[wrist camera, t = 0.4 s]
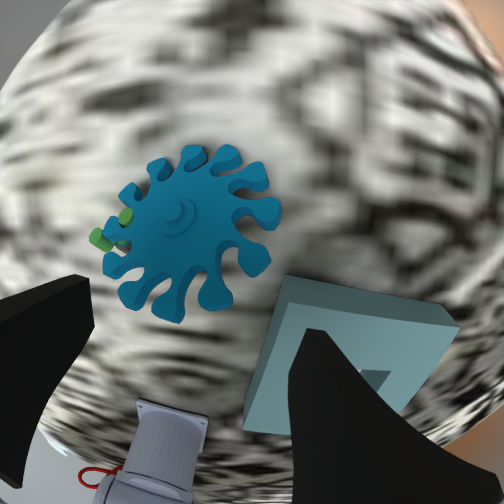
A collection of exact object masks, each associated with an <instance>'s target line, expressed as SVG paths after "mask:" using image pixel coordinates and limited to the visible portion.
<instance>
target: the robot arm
mask: <svg viewBox="0 0 504 504" xmlns="http://www.w3.org/2000/svg"><path fill="white" fill-rule="evenodd" d="M94 327H95V325H94V318H93V310H92V302H91V293H90V282H89V278H87V277H83V276H80V275H77V274H74V275H69V276H66V277H63V278H59V279H56V280H54V281H51V282H48V283H45V284H43V285H40V286H37V287H35V288H32V289H29V290H27V291H24V292H21V293H18V294H15V295H12V296H10V297H7V298H4V299H1V300H0V479H2V480H3V481H4V482H6V483H7V484H8V485H10V486H11V487H13V488H15V489H19V488H22V482H23V475H24V470H25V464H26V459H27V455H28V451H29V448H30V444H31V441H32V438H33V435H34V432H35V430H36V427H37V424H38V422H39V419H40V417H41V415H42V413H43V411H44V408H45V406H46V404H47V402H48V400H49V398H50V397H51V395H52V393H53V392H54V390H55V389H56V387H57V386H58V384H59V383H60V381H61V380H62V378H63V377H64V375H65V374H66V372H67V371H68V370H69V368H70V367H71V365H72V364H73V362H74V361H75V360H76V358H77V357H78V355H79V354H80V352H81V351H82V349H83V348H84V346H85V344H86V342H87V341H88V339H89V337H90V335H91V333H92V331H93V329H94ZM136 405H137V411H138V417H139V422H140V423H139V426H138V428H137V431H136V433H135V436H134V439H133V441H132V444H131V447H130V450H129V452H128V455H127V458H126V460H125V463H124V466H123V469H122V471H121V470H118V473H117V475H116V476H115V475H113V474H110V475H109V476H105V477H104V478H103V479H102V480H101V482H100V484H99V486H98V488H97V490H96V493H95V496H94V500H93V504H199V503H198V501H194V500H192V498H193V493H191V488H192V483H193V477H194V472H195V467H196V462H197V457H198V453H201V452H202V450H203V445H204V440H205V435H206V430H207V425H208V418H207V417H204V416H200V415H195V414H191V413H187V412H183V411H179V410H175V409H171V408H168V407H164V406H161V405H157V404H154V403H151V402H147V401H144V400H141V399H138V400H137V401H136ZM288 410H289V420H290V430H291V440H292V450H293V465H294V473H293V495H292V504H499V503H501V502H502V501H503V499H504V493H503V491H502V488H501V485H500V483H499V480H498V478H497V476H496V474H495V473H492V472H489V471H487V470H484V469H482V468H479V467H477V466H475V465H472V464H470V463H467V462H466V461H464V460H462V459H460V458H458V457H456V456H455V455H453V454H451V453H449V452H447V451H445V450H444V449H443V448H441V447H440V446H438V445H436V444H435V443H434V442H432V441H431V440H429V439H428V438H427V437H425V436H424V435H423V434H421V433H420V432H418V431H417V430H416V429H415V428H413V427H412V426H411V425H410V424H409V423H407V422H406V421H405V420H404V419H403V418H402V417H401V416H400V415H399V414H397V413H396V412H395V411H394V410H393V409H392V408H391V407H390V406H389V405H388V404H387V403H386V402H385V401H384V400H383V399H382V398H381V397H380V396H379V395H378V394H377V392H376V391H375V390H374V389H373V388H372V387H371V386H370V385H369V384H368V383H367V381H366V380H365V379H364V378H363V377H362V376H361V374H360V373H359V372H358V371H357V370H356V368H355V367H354V366H353V365H352V363H351V362H350V361H349V360H348V358H347V357H346V356H345V355H344V353H343V352H342V351H341V350H340V348H339V347H338V346H337V344H336V343H335V342H334V341H333V339H332V338H331V337H330V336H329V335H328V333H327V332H326V331H325V330H318V329H311V328H306V331H305V333H304V336H303V338H302V341H301V343H300V346H299V348H298V351H297V353H296V356H295V358H294V360H293V363H292V365H291V368H290V370H289V372H288ZM0 504H7V503H6V502H4V501H3V500H2V499H1V498H0Z"/></svg>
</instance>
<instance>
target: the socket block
mask: <svg viewBox="0 0 504 504" xmlns="http://www.w3.org/2000/svg"><path fill="white" fill-rule="evenodd" d="M306 328H311V329H318V330H325V331H326V332H327V333H328V335H329V336H330V337H331V338H332V339H333V341H334V342H335V343H336V344H337V346H338V347H339V348H340V350H341V351H342V352H343V353H344V355H345V356H346V357H347V358H348V360H349V361H350V362H351V363H352V365H353V366H354V367H355V368H356V369H363V370H362V371H361V373H360V374H361V376H362V377H363V378H364V379H365V380H366V381H367V383H368V384H369V385H370V386H371V387H372V388H373V389H374V390H375V391H376V392H377V394H378V395H379V396H380V397H381V398H382V399H383V400H384V401H385V402H386V403H387V404H388V405H389V406H390V407H391V408H392V409H393V410H394V411H395V412H396V413H397V414H399V413H400V411H401V410H402V409H403V408H404V407H405V406H406V404H407V403H408V402H409V401H410V400H411V398H412V397H413V396H414V395H415V393H416V392H417V391H418V390H419V388H420V387H421V386H422V384H423V383H424V382H425V380H426V379H427V378H428V376H429V375H430V374H431V372H432V371H433V369H434V368H435V367H436V365H437V364H438V362H439V361H440V359H441V358H442V356H443V355H444V353H445V352H446V350H447V349H448V347H449V345H450V344H451V342H452V341H453V339H454V337H455V336H456V334H457V332H458V331H459V329H460V327H459V326H458V324H457V323H456V322H455V321H454V320H453V318H452V317H451V316H450V315H449V314H448V313H447V311H446V310H445V309H444V308H443V307H442V306H441V305H440V304H436V303H430V302H425V301H419V300H414V299H408V298H403V297H398V296H392V295H387V294H382V293H377V292H371V291H366V290H361V289H356V288H351V287H346V286H341V285H336V284H330V283H325V282H320V281H316V280H311V279H306V278H301V277H296V276H291V275H286V274H285V276H284V279H283V283H282V286H281V289H280V293H279V296H278V299H277V303H276V306H275V309H274V312H273V316H272V319H271V322H270V325H269V328H268V332H267V335H266V338H265V341H264V344H263V347H262V350H261V353H260V356H259V359H258V362H257V365H256V368H255V371H254V374H253V377H252V380H251V383H250V386H249V389H248V392H247V395H246V398H245V401H244V412H243V424H242V430H248V431H255V432H264V433H273V434H284V435H291V430H290V420H289V410H288V372H289V370H290V368H291V365H292V363H293V360H294V358H295V356H296V353H297V351H298V348H299V346H300V343H301V341H302V338H303V336H304V333H305V331H306Z"/></svg>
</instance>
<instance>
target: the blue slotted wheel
mask: <svg viewBox="0 0 504 504" xmlns="http://www.w3.org/2000/svg"><path fill="white" fill-rule="evenodd" d="M206 158H207V155H206V153H205V151H204V149H203V148H202V146H199V145H187V146H185V147H184V148H183V150H182V152H181V160H180V163H179V165H178V167H177V168H176V170H175V171H174V173H173V174H172V175H171V176H170V177H169V178H168V179H167V180H165V179H166V178H167V177H168V176H169V174H170V172H171V166H170V165H169V164H168V162H167V161H166V159H165V158H160V159H157V160H155V161H152V162H151V163H149V164H148V165H147V172H148V173H149V175H150V178H151V184H150V188H149V192H148V194H147V196H146V197H145V198H144V199H143V200H142V197H143V193H142V191H141V190H140V189H139V188H138V187H137V185H136V184H135V183H133V182H131V183H130V184H128V185H127V186H126V187H125V188H124V189H123V190H122V191H121V192H120V193H119V195H118V197H119V199H120V200H121V201H122V202H123V203H124V204H125V205H126V206H127V207H129V208H126V209H124V210H123V211H122V212H121V213H120V215H119V218H117V217H116V216H111V217H110V218H109V219H108V221H107V222H106V224H105V227H104V229H103V230H102V229H100V228H95V229H94V230H93V231H92V232H91V234H90V236H89V241H90V243H91V244H93V245H94V246H96V247H97V248H99V249H101V250H102V251H104V252H108V253H106V254H105V255H104V258H103V274H104V275H106V276H108V277H110V278H112V279H119V278H121V277H122V276H123V275H124V274H125V273H126V272H128V271H129V270H131V269H134V268H137V267H144V274H143V276H142V277H141V278H140V279H139V280H138V281H127V282H124V283H122V284H121V285H120V287H119V288H118V290H117V291H118V295H119V298H120V300H121V301H122V303H123V304H124V305H125V307H126V308H129V309H131V310H134V311H138V310H140V309H141V308H142V307H143V306H144V304H145V302H146V299H147V297H148V295H149V294H150V292H151V291H152V290H153V289H154V288H155V287H156V286H157V285H158V284H159V283H161V282H163V281H164V280H166V279H168V278H171V279H172V284H171V287H170V289H169V290H168V291H167V292H165V293H164V294H162V295H160V296H159V297H157V298H156V299H155V300H154V302H153V304H152V309H151V312H152V313H153V314H154V315H155V316H157V317H159V318H162V319H164V320H167V321H170V322H173V323H178V324H180V323H181V322H182V320H183V318H184V315H185V307H184V301H185V295H186V292H187V289H188V287H189V285H190V283H191V281H192V280H193V278H194V277H195V275H196V274H197V273H199V272H200V271H207V279H206V281H205V283H204V284H203V286H202V287H201V289H200V291H199V293H198V302H199V305H200V306H201V307H202V308H204V309H206V310H207V311H219V310H223V309H226V308H229V307H231V306H232V304H233V295H232V293H231V292H230V290H229V289H228V288H227V287H226V285H225V283H224V281H223V279H222V275H221V258H222V254H223V252H224V251H225V250H226V249H228V248H230V247H237V248H238V262H239V265H240V267H241V268H242V269H243V271H244V272H245V273H246V274H247V275H248V276H249V277H252V278H254V277H256V276H258V275H259V274H260V273H262V272H263V271H264V270H265V269H266V268H267V267H268V265H269V264H270V263H271V262H272V260H271V257H270V255H269V253H268V250H267V249H266V247H264V246H263V245H261V244H259V243H255V242H252V241H249V240H247V239H246V238H244V237H243V236H242V235H241V234H240V233H239V232H238V231H237V230H236V223H237V221H238V220H239V219H240V218H241V217H243V216H252V217H254V218H255V219H256V221H257V222H258V224H259V226H260V227H261V228H263V229H264V230H268V231H273V230H276V228H277V227H278V225H279V222H280V219H281V214H282V208H281V204H280V201H279V200H278V199H276V198H273V197H267V198H263V199H258V200H246V199H242V198H238V197H236V196H233V193H234V192H235V191H236V190H238V189H240V188H247V189H250V190H252V191H256V192H260V191H264V190H266V189H268V188H269V180H268V177H267V173H266V170H265V167H264V165H263V163H262V162H254V163H251V164H249V165H248V166H247V167H246V168H244V169H242V170H241V171H239V172H237V173H234V174H231V175H226V176H219V177H216V175H217V174H218V173H220V172H222V171H228V170H234V169H236V168H238V167H239V166H240V165H241V164H242V159H241V157H240V154H239V152H238V150H237V149H236V148H234V147H233V146H231V145H228V144H225V145H223V146H221V147H220V148H219V149H218V150H217V152H216V154H215V155H214V157H213V158H212V159H211V160H210V161H209V162H208V163H206V164H205V165H204V166H202V167H201V168H199V169H197V170H195V171H193V172H191V171H192V170H193V169H195V168H197V167H198V166H200V165H202V164H203V163H204V162H205V160H206ZM131 208H132V209H131ZM114 244H115V246H116V248H118V249H119V250H120V251H122V252H123V253H125V254H127V255H126V256H124V257H121V256H119V255H118V254H116V253H115V252H109V251H110V250H112V248H113V246H114Z"/></svg>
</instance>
